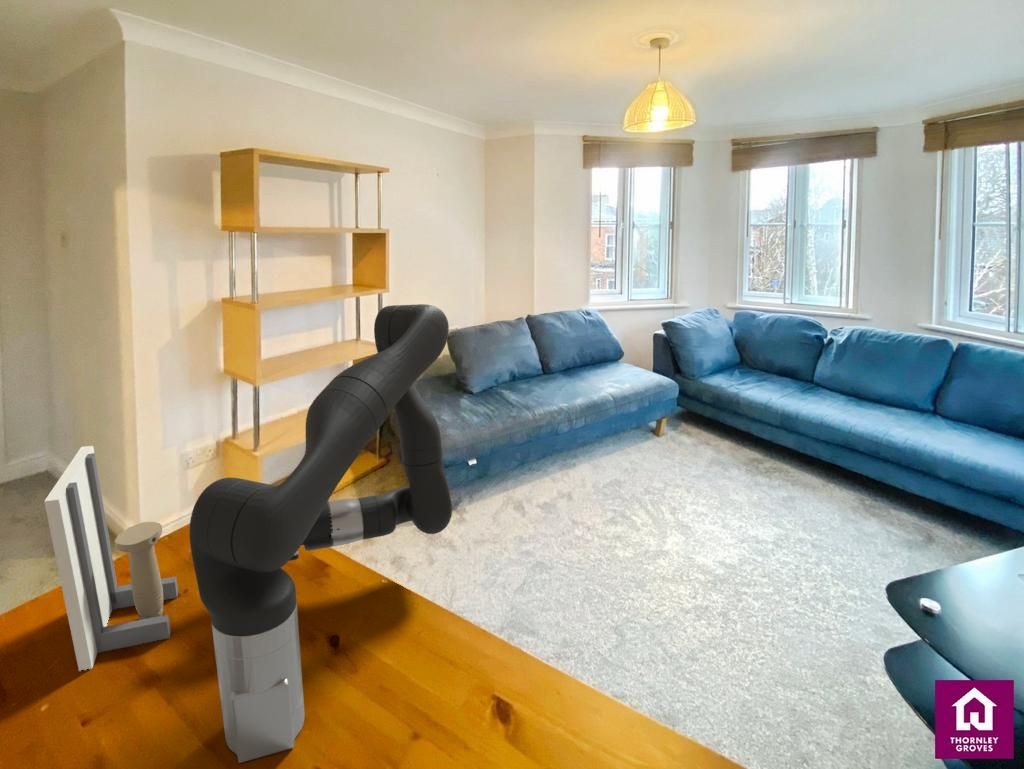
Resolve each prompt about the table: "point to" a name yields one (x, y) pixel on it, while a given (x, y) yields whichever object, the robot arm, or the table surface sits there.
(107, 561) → the rack
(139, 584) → the handle
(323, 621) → the table surface
